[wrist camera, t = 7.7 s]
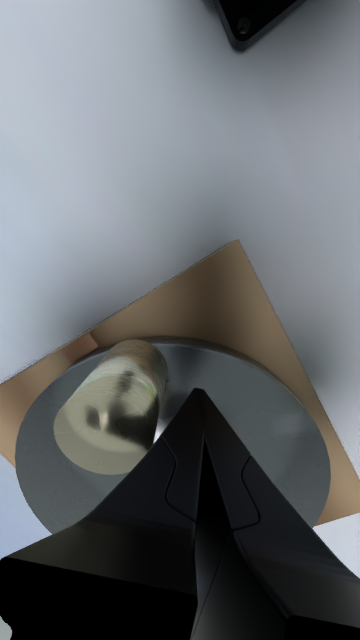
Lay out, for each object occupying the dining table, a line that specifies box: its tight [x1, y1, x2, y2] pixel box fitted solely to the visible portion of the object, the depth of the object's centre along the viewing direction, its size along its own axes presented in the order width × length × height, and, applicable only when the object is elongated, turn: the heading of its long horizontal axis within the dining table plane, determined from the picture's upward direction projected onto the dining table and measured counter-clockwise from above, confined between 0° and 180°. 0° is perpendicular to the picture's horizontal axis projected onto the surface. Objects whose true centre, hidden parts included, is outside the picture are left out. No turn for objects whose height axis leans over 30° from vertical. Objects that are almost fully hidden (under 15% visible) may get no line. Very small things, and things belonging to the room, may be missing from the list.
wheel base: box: [0, 240, 360, 526], centre depth 15 cm, size 20×20×2 cm
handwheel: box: [15, 336, 331, 534], centre depth 11 cm, size 18×18×6 cm
